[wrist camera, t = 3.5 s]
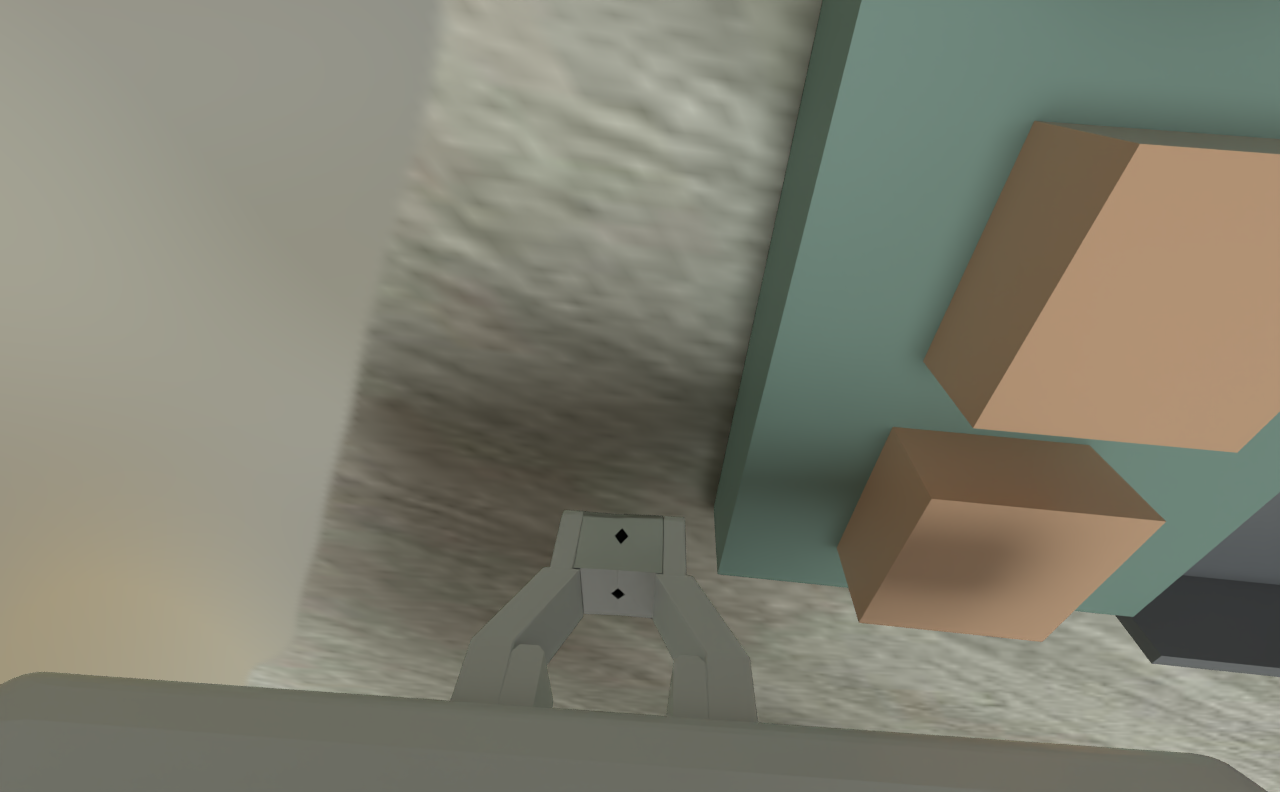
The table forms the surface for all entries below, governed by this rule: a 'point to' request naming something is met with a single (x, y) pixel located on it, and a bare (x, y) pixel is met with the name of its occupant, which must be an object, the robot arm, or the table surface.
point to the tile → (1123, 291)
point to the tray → (1221, 605)
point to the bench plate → (960, 253)
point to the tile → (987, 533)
